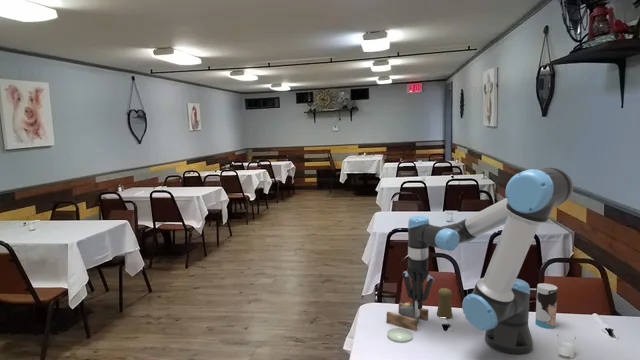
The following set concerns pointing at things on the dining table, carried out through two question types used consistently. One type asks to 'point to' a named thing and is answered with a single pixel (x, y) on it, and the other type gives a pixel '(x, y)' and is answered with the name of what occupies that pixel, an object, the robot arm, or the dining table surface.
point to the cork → (444, 303)
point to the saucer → (400, 335)
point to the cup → (546, 305)
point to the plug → (408, 310)
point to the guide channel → (406, 319)
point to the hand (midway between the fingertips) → (417, 316)
